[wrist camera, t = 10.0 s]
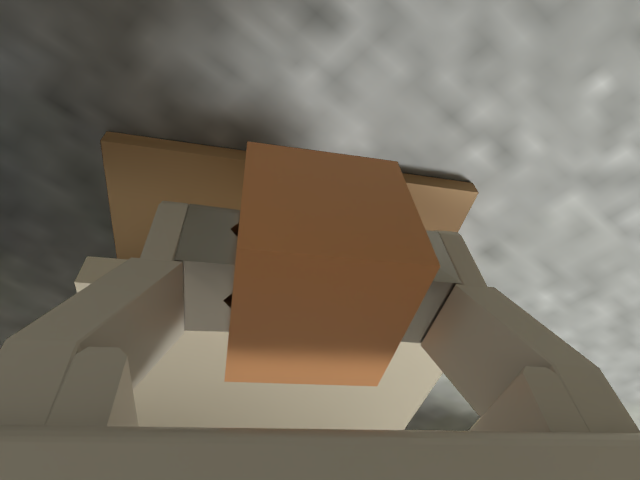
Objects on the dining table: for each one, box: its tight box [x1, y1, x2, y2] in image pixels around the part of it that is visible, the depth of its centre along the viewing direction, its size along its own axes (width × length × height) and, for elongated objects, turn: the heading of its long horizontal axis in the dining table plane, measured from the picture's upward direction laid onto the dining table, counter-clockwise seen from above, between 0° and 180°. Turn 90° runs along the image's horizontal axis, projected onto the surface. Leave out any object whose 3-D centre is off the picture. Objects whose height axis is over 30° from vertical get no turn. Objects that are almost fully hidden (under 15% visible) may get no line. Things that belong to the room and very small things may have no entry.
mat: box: [100, 131, 478, 259], centre depth 18 cm, size 14×12×1 cm
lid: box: [74, 141, 443, 430], centre depth 13 cm, size 16×10×4 cm, turn 169°
